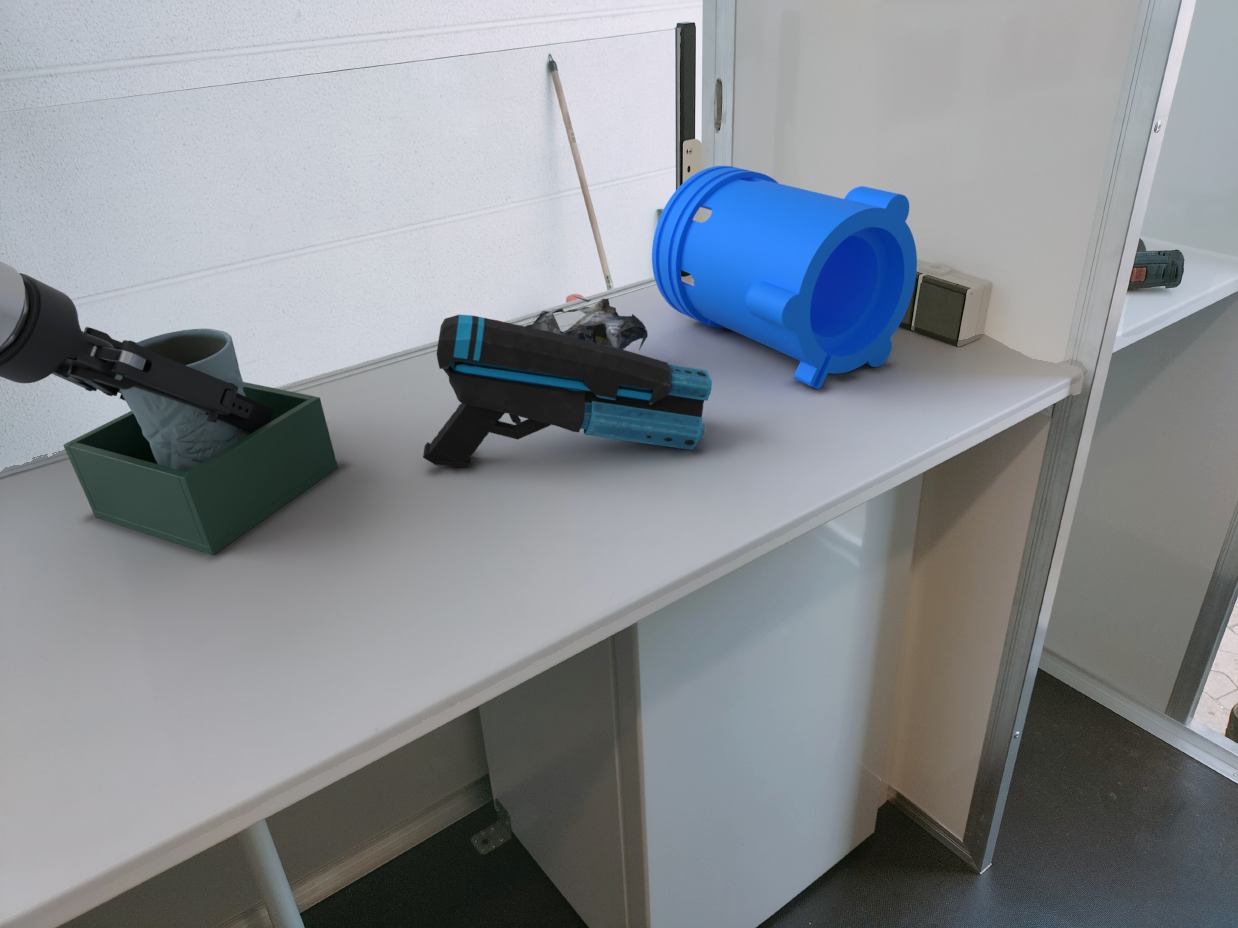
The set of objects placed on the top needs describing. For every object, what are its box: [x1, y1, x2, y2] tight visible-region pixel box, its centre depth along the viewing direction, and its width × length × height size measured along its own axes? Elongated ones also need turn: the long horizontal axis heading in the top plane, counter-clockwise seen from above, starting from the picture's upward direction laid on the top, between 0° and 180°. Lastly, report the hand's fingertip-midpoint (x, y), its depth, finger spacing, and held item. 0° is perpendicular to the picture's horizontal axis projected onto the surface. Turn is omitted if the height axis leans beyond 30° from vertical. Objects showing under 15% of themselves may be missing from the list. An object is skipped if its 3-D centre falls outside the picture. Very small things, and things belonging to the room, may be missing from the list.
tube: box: [651, 165, 918, 390], centre depth 100 cm, size 25×22×19 cm
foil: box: [524, 295, 649, 351], centre depth 99 cm, size 12×11×15 cm
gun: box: [422, 314, 713, 468], centre depth 83 cm, size 8×26×15 cm, turn 97°
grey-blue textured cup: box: [115, 328, 251, 472], centre depth 78 cm, size 10×10×12 cm
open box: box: [62, 381, 339, 556], centre depth 80 cm, size 16×16×8 cm
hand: (224, 415), depth 81 cm, fingers closed on grey-blue textured cup, 10 cm apart
